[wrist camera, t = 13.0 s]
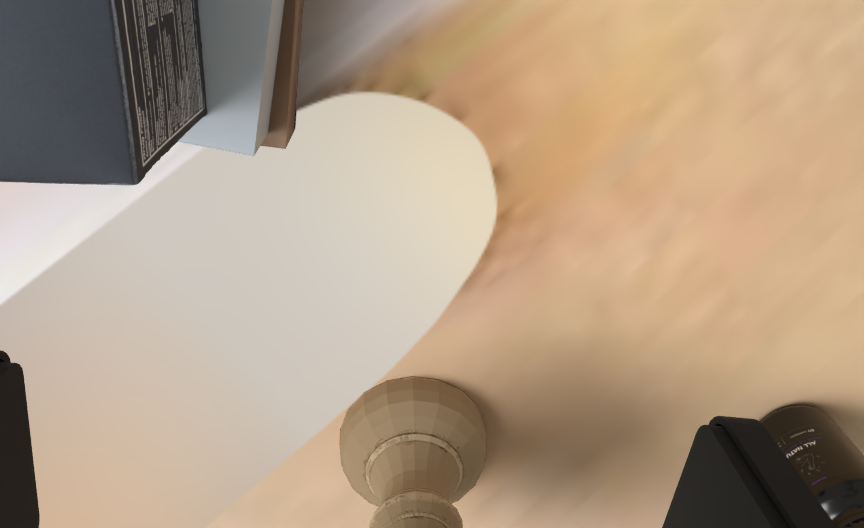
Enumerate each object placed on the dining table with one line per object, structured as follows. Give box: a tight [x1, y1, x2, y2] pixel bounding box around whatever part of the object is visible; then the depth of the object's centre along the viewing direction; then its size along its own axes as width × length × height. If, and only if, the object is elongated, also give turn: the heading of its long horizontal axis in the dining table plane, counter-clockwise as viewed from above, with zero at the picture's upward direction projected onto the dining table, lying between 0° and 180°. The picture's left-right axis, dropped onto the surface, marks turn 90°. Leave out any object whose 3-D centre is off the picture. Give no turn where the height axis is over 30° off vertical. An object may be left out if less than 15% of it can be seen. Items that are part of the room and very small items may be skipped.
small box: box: [0, 0, 207, 185], centre depth 29 cm, size 11×6×10 cm, turn 178°
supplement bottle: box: [760, 405, 864, 528], centre depth 51 cm, size 7×7×12 cm
